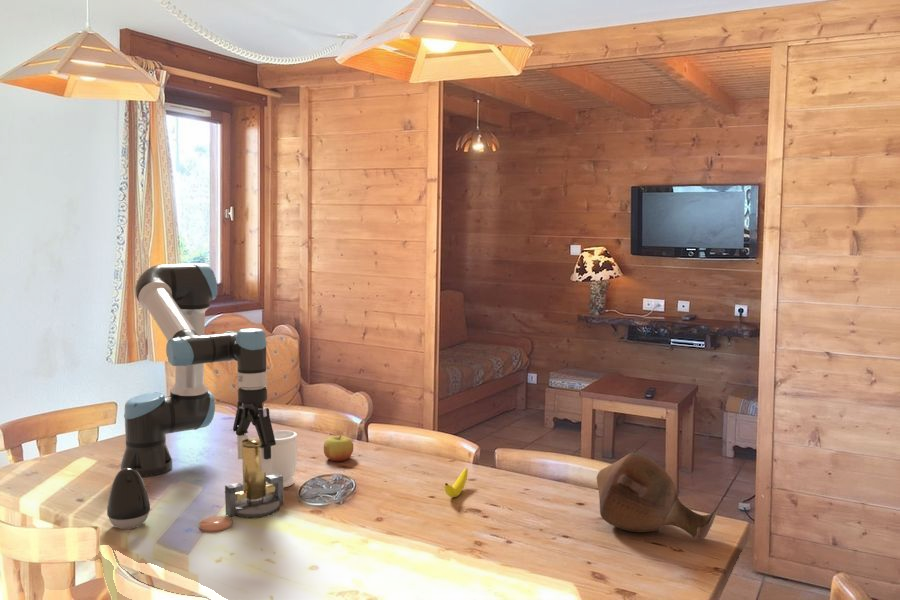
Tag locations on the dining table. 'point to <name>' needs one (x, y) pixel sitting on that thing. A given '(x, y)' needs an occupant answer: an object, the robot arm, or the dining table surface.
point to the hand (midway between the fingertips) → (254, 464)
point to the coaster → (215, 523)
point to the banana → (457, 485)
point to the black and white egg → (128, 500)
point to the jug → (645, 498)
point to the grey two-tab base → (254, 500)
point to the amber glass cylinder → (253, 472)
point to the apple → (338, 448)
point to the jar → (284, 456)
